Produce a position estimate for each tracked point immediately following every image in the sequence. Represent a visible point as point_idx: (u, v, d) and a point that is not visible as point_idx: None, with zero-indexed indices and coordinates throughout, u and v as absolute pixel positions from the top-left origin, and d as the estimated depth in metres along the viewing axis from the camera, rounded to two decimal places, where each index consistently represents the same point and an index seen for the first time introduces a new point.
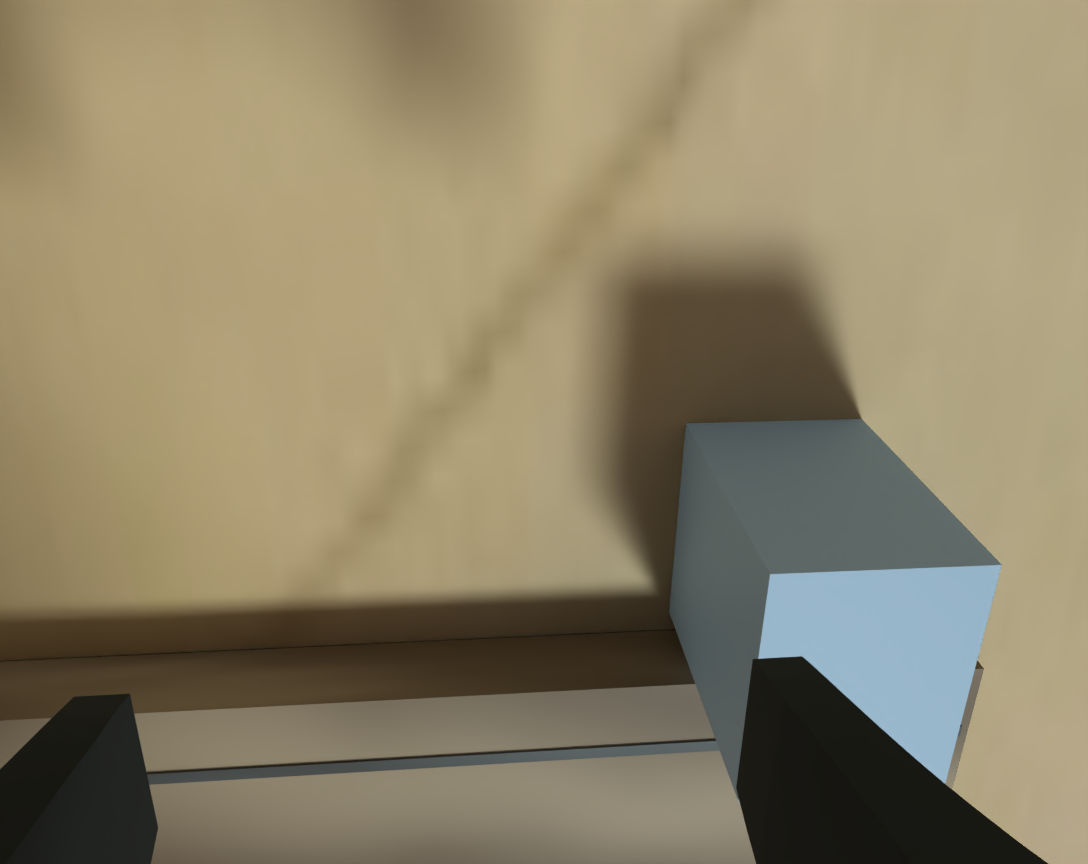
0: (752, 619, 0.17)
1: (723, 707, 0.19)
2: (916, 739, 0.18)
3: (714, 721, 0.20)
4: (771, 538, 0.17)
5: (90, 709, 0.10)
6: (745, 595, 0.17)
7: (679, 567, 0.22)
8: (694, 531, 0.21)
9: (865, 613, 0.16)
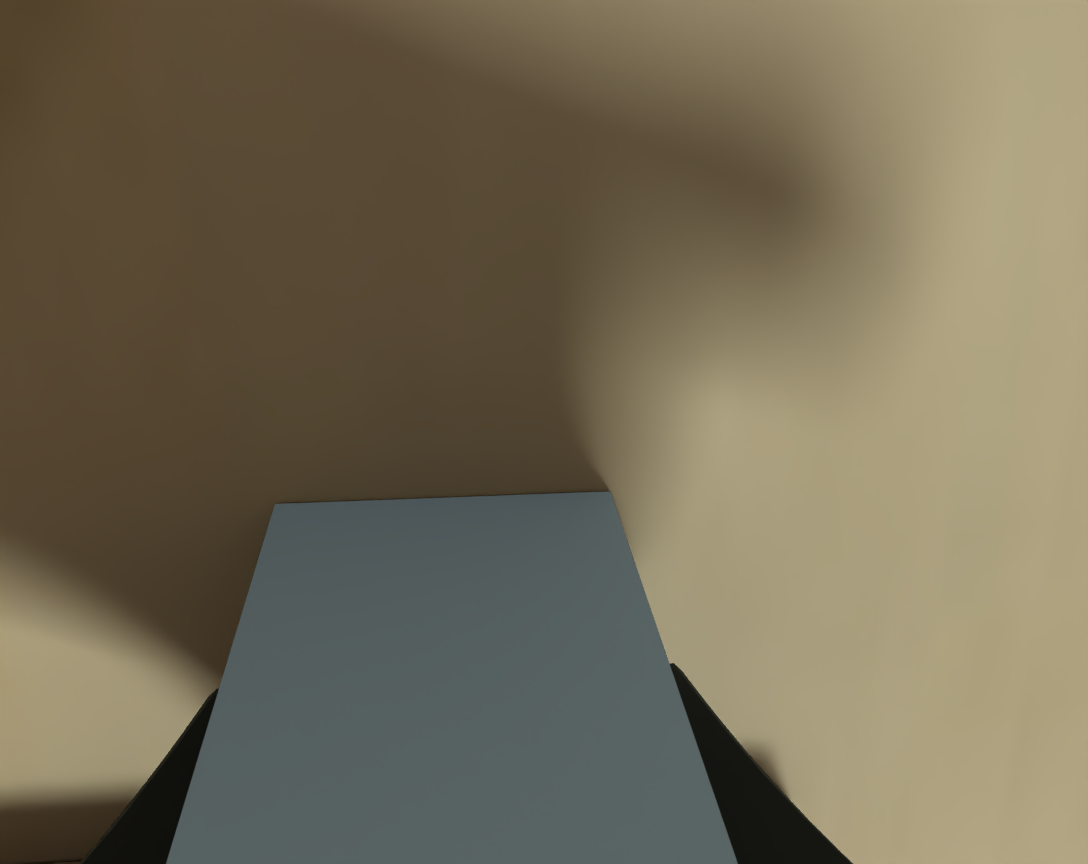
0: None
1: None
2: None
3: None
4: (228, 834, 0.07)
5: None
6: None
7: None
8: None
9: None
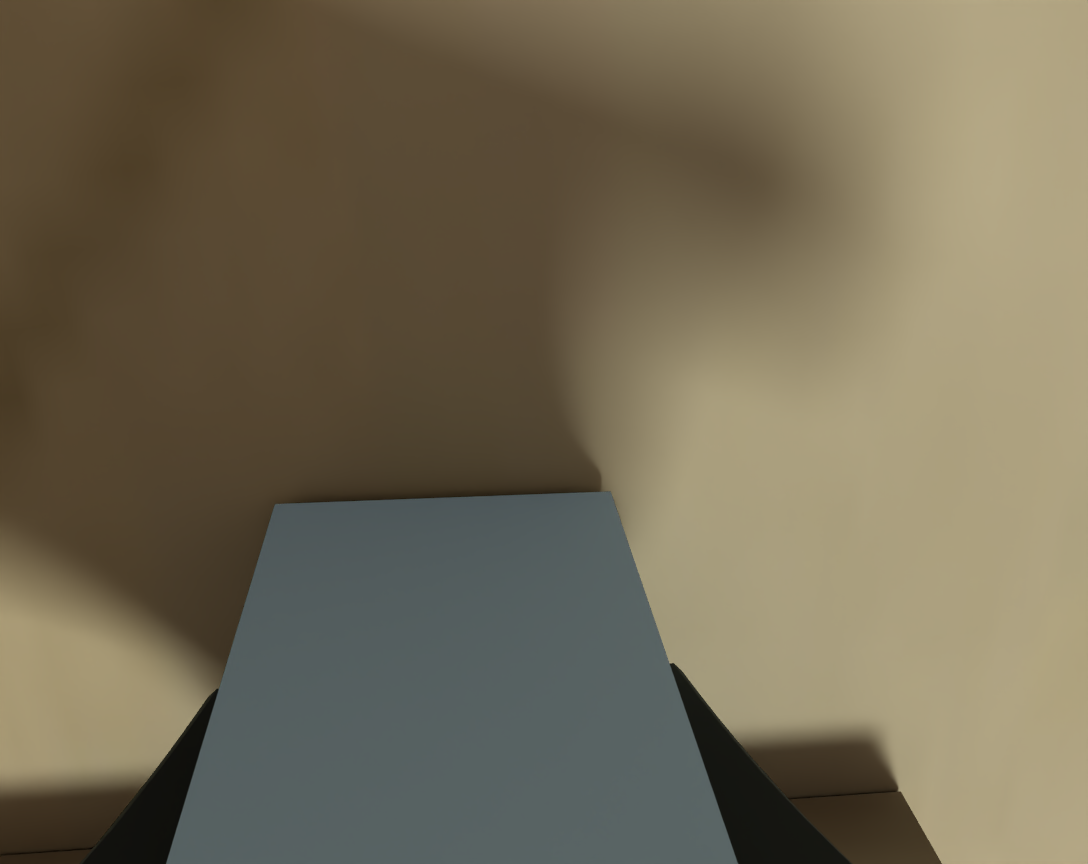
0: None
1: None
2: None
3: None
4: (229, 833, 0.07)
5: None
6: None
7: None
8: None
9: None
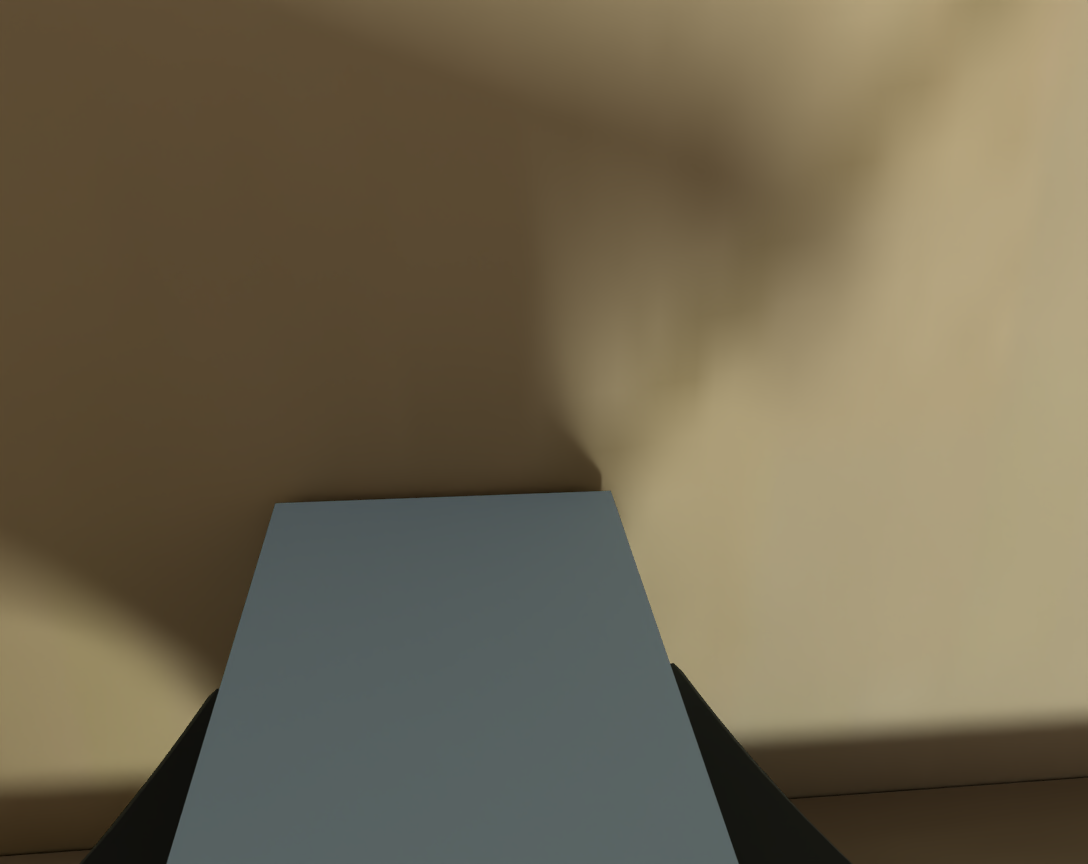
0: None
1: None
2: None
3: None
4: (230, 830, 0.07)
5: None
6: None
7: None
8: None
9: None
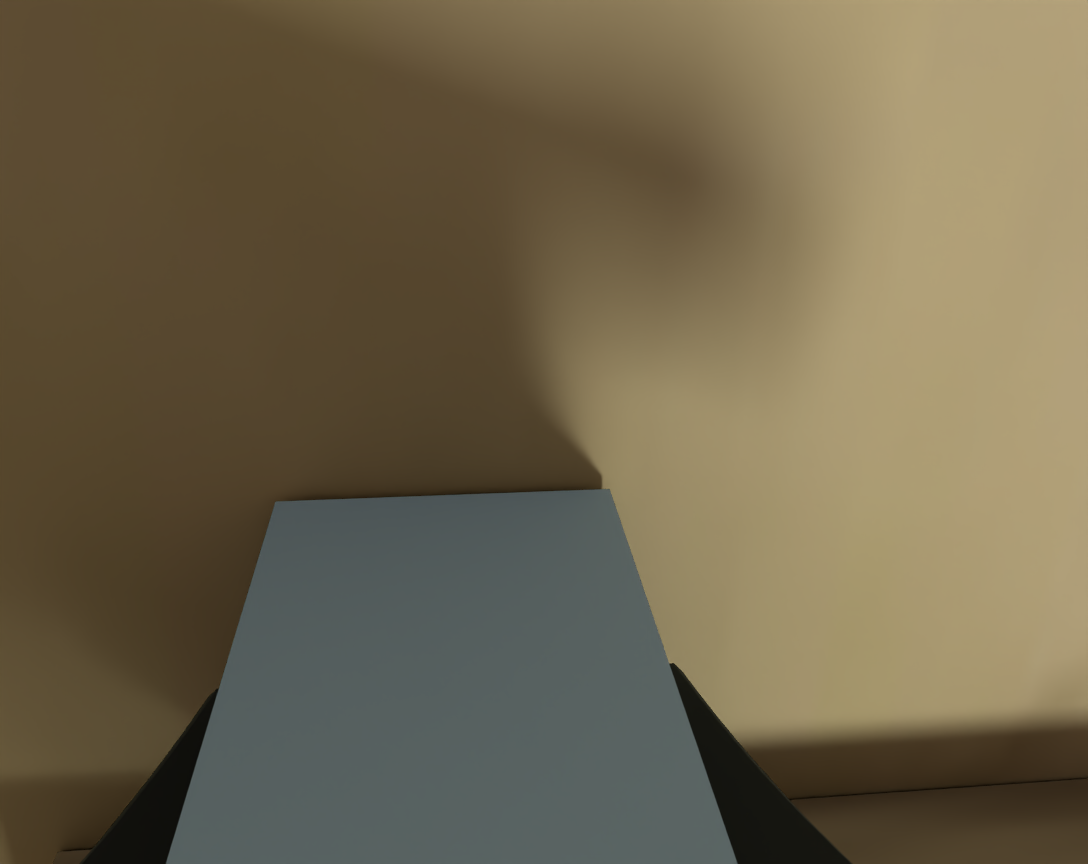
0: None
1: None
2: None
3: None
4: (230, 827, 0.07)
5: None
6: None
7: None
8: None
9: None
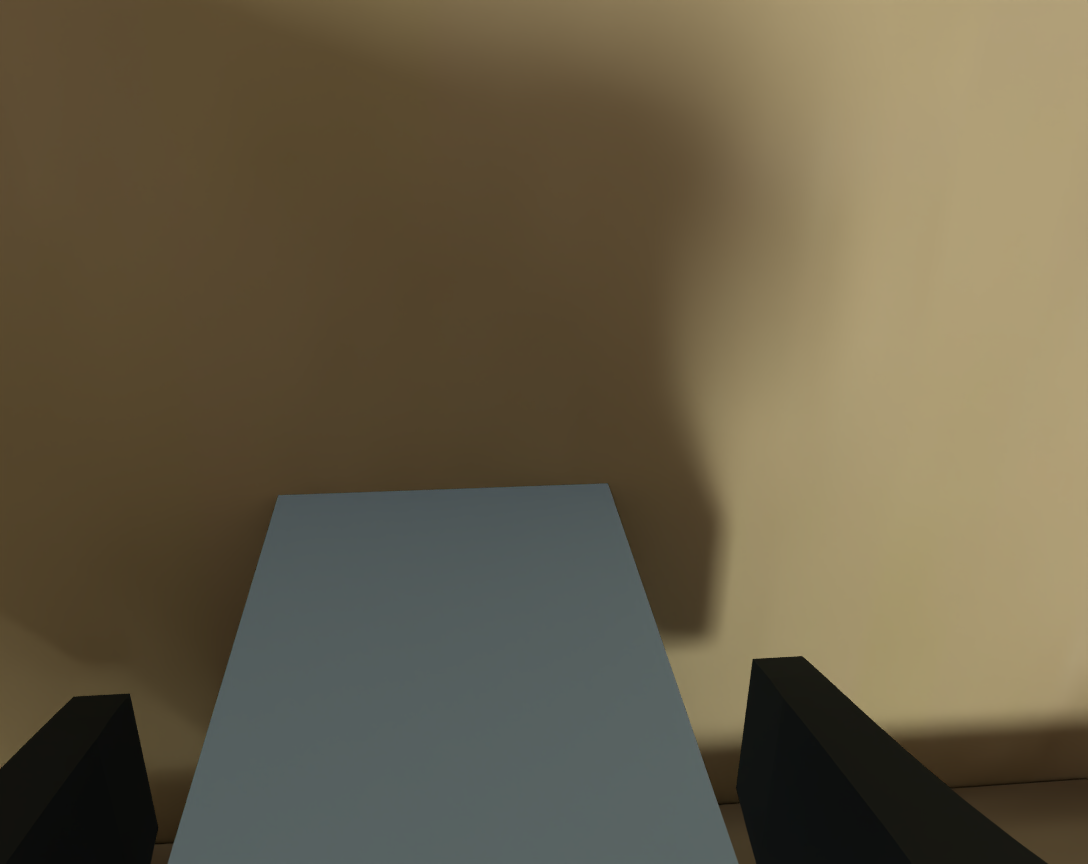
0: None
1: None
2: None
3: None
4: (235, 806, 0.07)
5: (90, 710, 0.10)
6: None
7: None
8: None
9: None
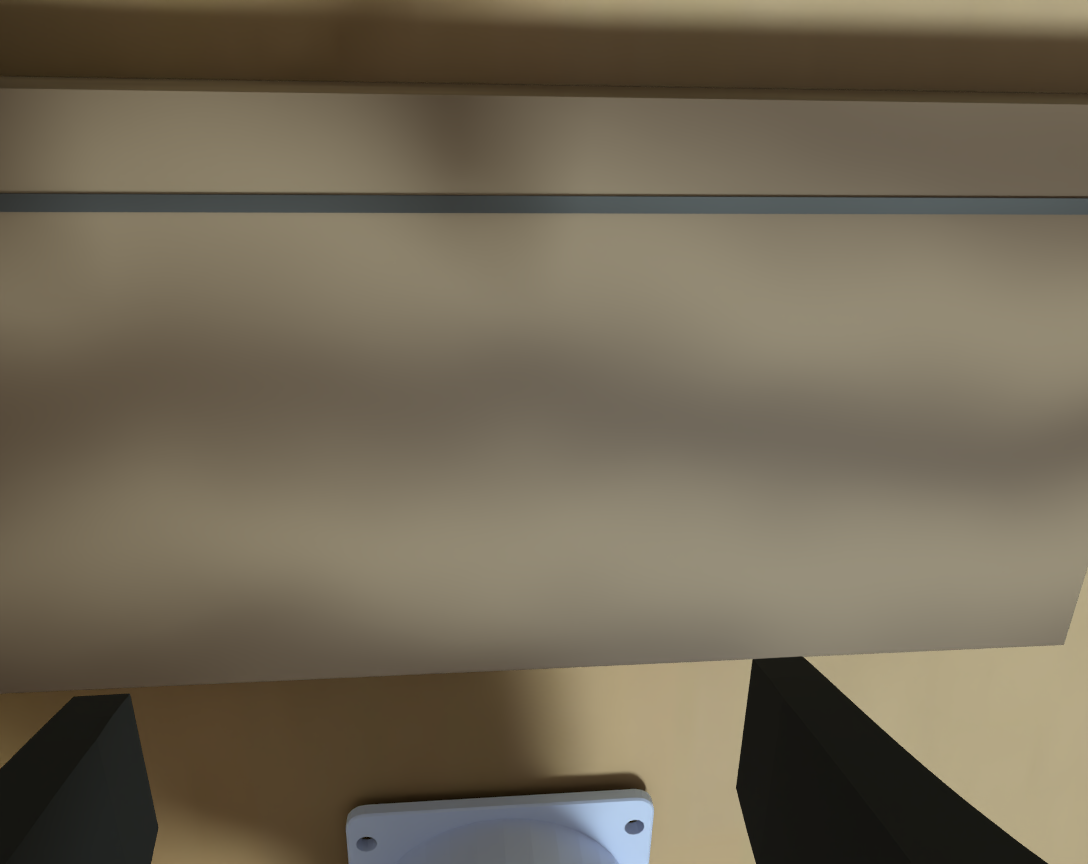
0: None
1: None
2: None
3: None
4: None
5: (89, 710, 0.10)
6: None
7: None
8: None
9: None
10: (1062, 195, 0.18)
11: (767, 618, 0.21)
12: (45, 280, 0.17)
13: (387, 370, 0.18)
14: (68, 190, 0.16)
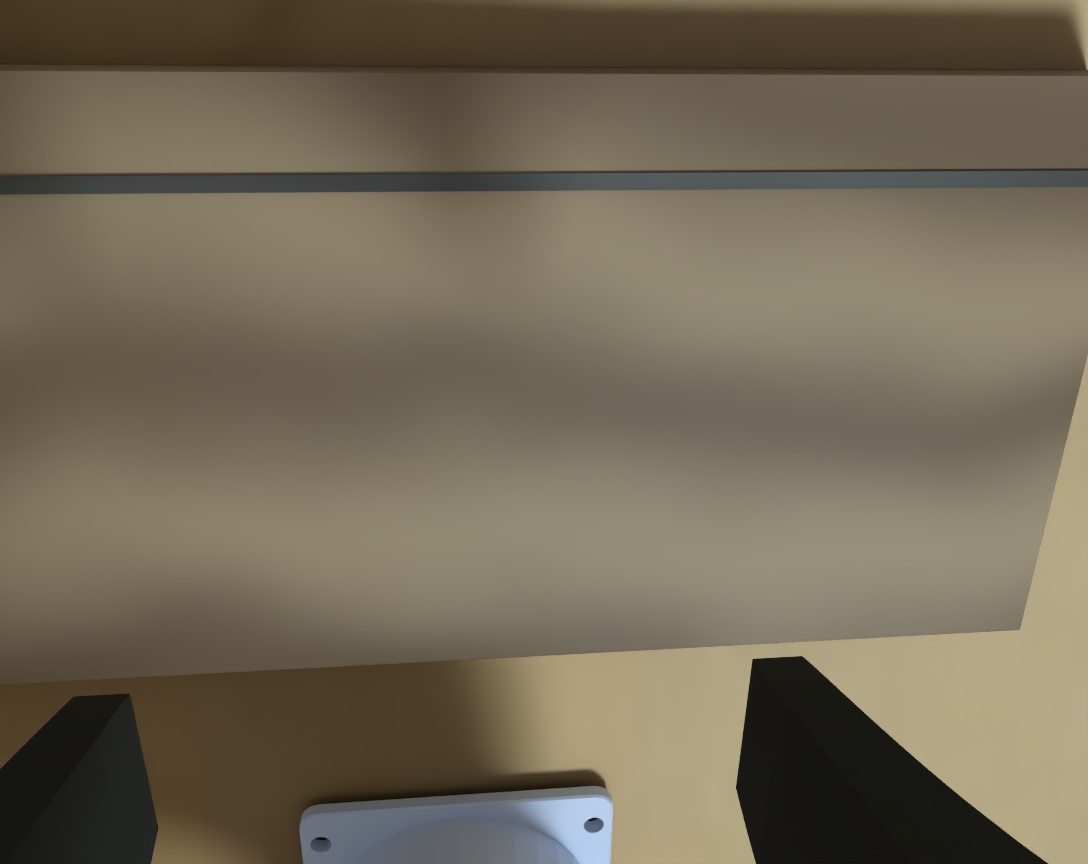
0: None
1: None
2: None
3: None
4: None
5: (90, 710, 0.10)
6: None
7: None
8: None
9: None
10: (992, 168, 0.18)
11: (715, 604, 0.21)
12: None
13: (316, 353, 0.18)
14: None
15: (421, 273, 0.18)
